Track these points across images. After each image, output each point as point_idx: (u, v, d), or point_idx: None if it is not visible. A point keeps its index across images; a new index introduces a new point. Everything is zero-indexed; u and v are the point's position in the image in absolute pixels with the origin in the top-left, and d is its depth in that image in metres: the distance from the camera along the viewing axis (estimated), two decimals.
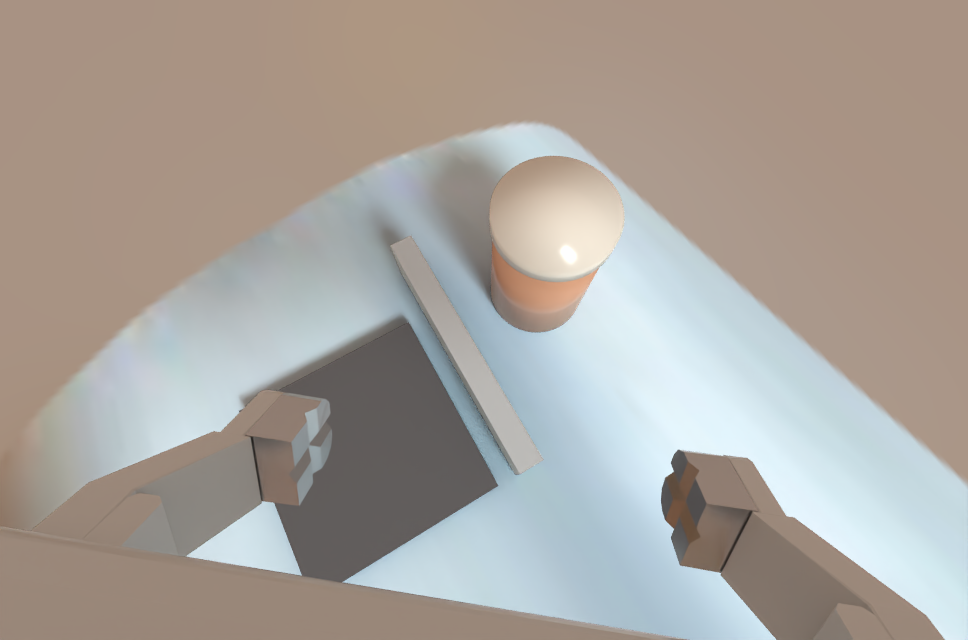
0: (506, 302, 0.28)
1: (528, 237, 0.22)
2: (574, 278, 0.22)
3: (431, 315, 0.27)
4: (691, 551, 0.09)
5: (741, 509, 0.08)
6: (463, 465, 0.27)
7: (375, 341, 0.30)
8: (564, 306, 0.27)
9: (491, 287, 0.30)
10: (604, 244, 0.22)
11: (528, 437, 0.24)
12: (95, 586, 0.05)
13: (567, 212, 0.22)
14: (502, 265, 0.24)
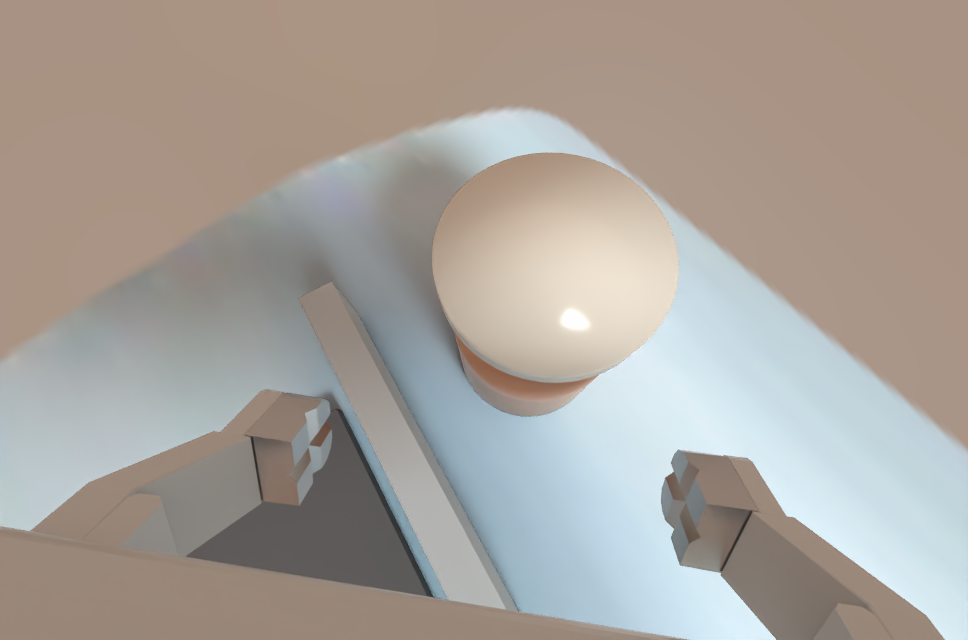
0: (480, 384, 0.18)
1: (502, 305, 0.12)
2: (589, 376, 0.12)
3: (358, 413, 0.17)
4: (691, 551, 0.09)
5: (741, 509, 0.08)
6: None
7: None
8: (570, 394, 0.17)
9: None
10: (645, 315, 0.12)
11: None
12: (95, 586, 0.05)
13: (573, 255, 0.12)
14: (464, 343, 0.14)
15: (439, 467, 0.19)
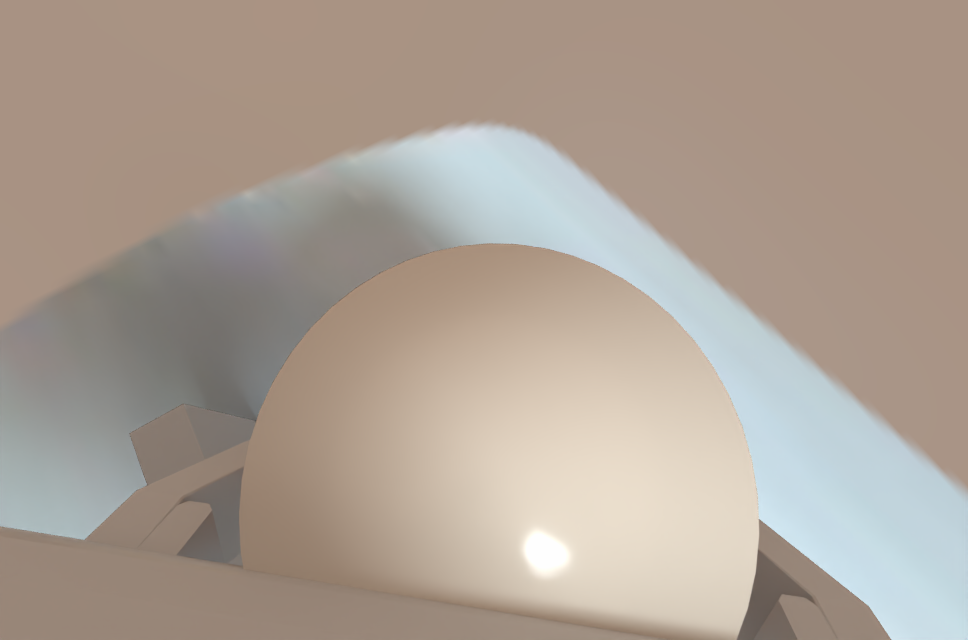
0: None
1: None
2: None
3: None
4: None
5: None
6: None
7: None
8: None
9: None
10: (692, 631, 0.05)
11: None
12: (95, 586, 0.05)
13: (537, 477, 0.06)
14: None
15: None
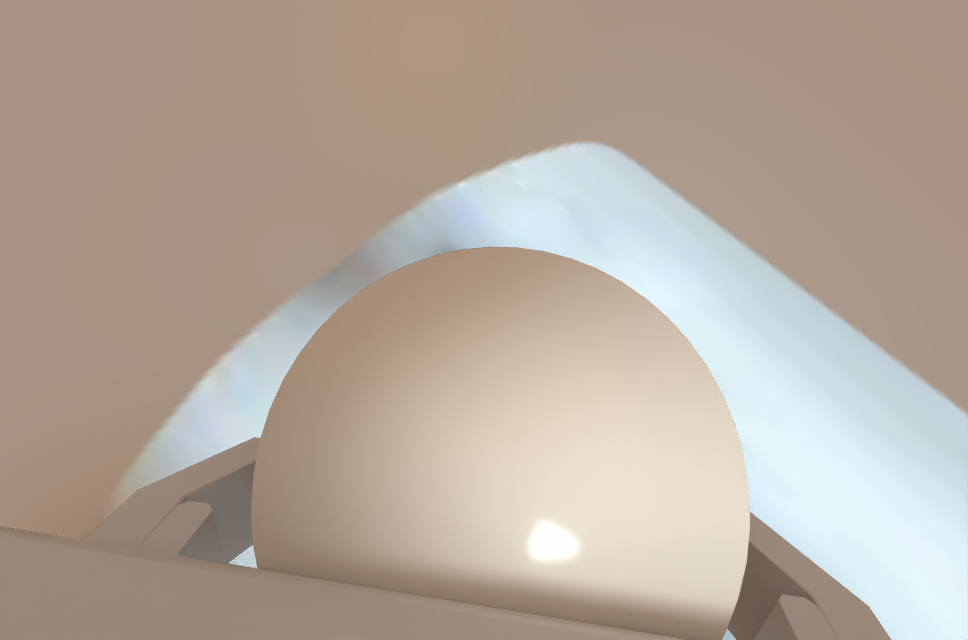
0: None
1: None
2: None
3: None
4: None
5: None
6: None
7: None
8: None
9: None
10: (686, 619, 0.06)
11: None
12: (95, 586, 0.05)
13: (538, 471, 0.06)
14: None
15: None
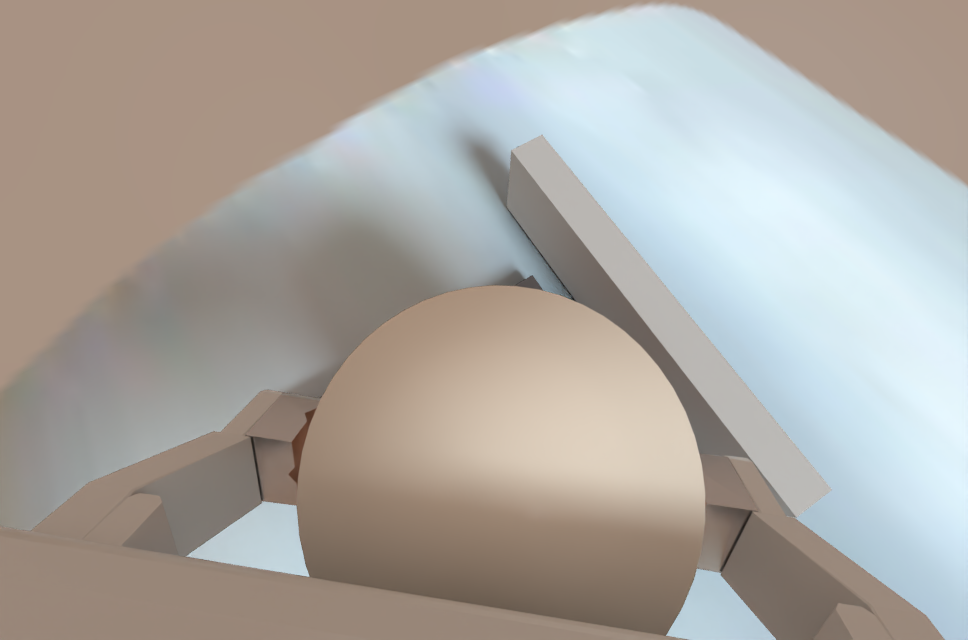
0: None
1: (410, 577, 0.07)
2: None
3: (595, 254, 0.16)
4: None
5: (741, 509, 0.08)
6: None
7: None
8: None
9: None
10: (650, 596, 0.07)
11: (797, 451, 0.14)
12: (95, 586, 0.05)
13: (532, 476, 0.07)
14: None
15: None
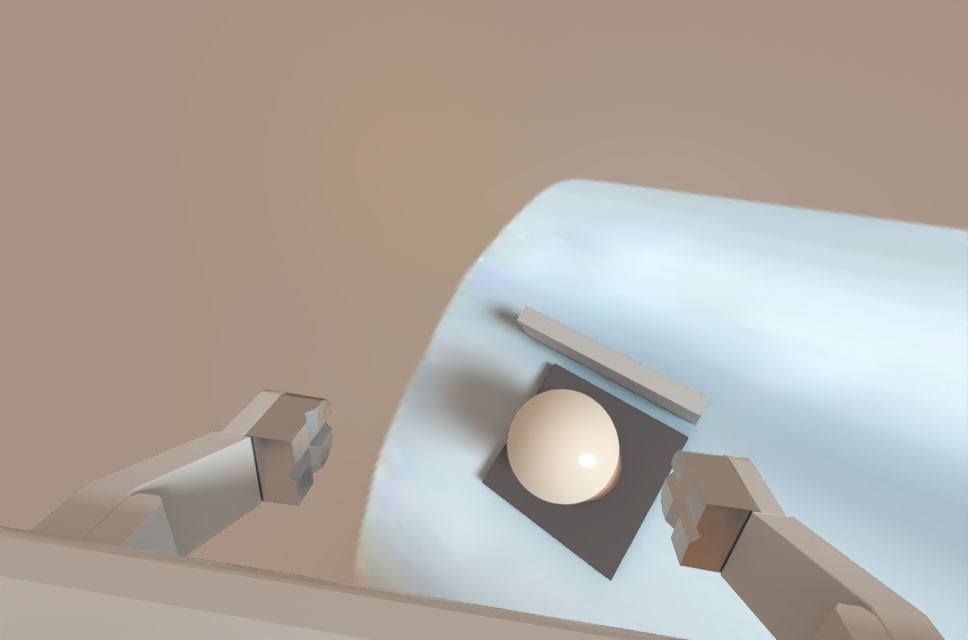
0: None
1: (551, 479, 0.26)
2: (603, 488, 0.26)
3: (572, 347, 0.36)
4: (691, 551, 0.09)
5: (741, 509, 0.08)
6: (655, 436, 0.35)
7: (541, 388, 0.39)
8: (610, 484, 0.30)
9: None
10: (610, 454, 0.26)
11: (690, 389, 0.32)
12: (95, 586, 0.05)
13: (568, 441, 0.27)
14: None
15: None
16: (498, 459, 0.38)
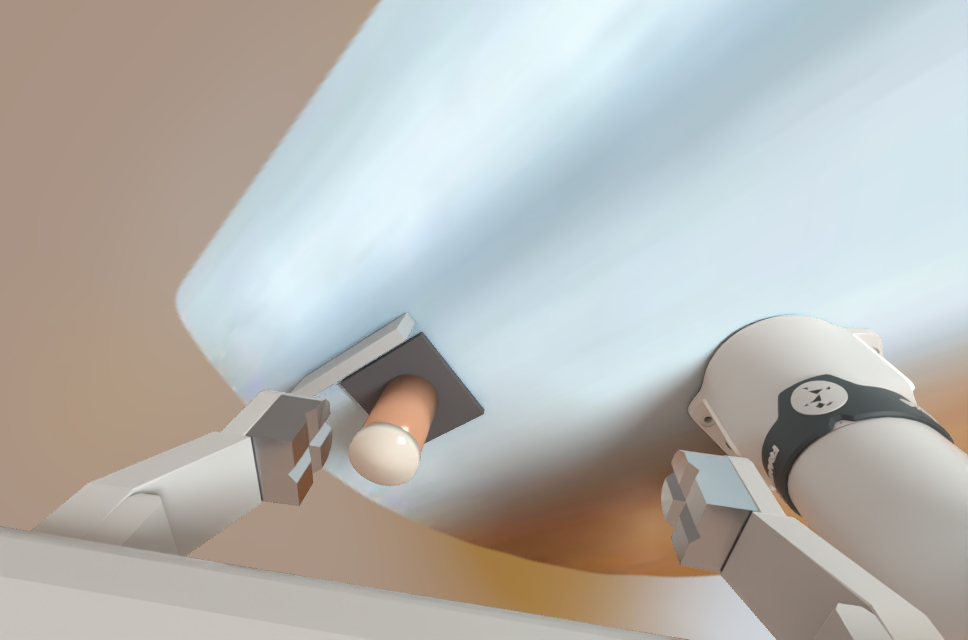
0: None
1: (401, 470, 0.43)
2: (416, 444, 0.42)
3: (331, 384, 0.48)
4: (690, 551, 0.09)
5: (741, 509, 0.08)
6: (412, 352, 0.49)
7: (355, 398, 0.52)
8: (425, 411, 0.46)
9: None
10: (397, 440, 0.41)
11: (386, 336, 0.44)
12: (95, 586, 0.05)
13: (382, 454, 0.42)
14: None
15: (354, 346, 0.49)
16: None
